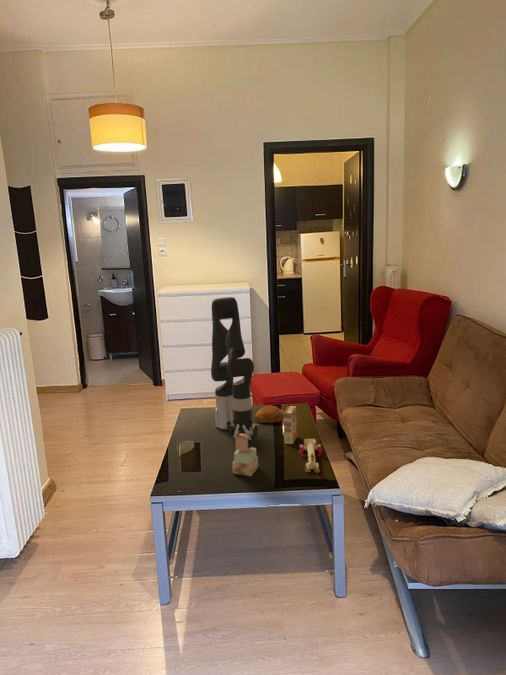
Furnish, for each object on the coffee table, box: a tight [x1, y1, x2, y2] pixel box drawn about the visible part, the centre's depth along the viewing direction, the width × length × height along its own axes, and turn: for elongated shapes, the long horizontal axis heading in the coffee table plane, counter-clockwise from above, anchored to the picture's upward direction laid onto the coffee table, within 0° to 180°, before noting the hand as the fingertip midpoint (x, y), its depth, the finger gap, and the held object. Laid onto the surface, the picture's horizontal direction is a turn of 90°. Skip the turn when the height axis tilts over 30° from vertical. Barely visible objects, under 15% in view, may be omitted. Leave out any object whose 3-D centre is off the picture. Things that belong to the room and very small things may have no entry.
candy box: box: [283, 405, 298, 445], centre depth 227 cm, size 9×4×15 cm, turn 162°
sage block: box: [233, 446, 257, 465], centre depth 201 cm, size 7×7×4 cm
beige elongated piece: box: [298, 438, 323, 474], centre depth 209 cm, size 10×9×25 cm
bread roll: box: [254, 405, 285, 424], centre depth 255 cm, size 14×16×8 cm
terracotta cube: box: [234, 432, 250, 451], centre depth 200 cm, size 5×5×5 cm
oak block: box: [231, 456, 259, 477], centre depth 202 cm, size 8×8×5 cm
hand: (243, 446), depth 200 cm, fingers closed on terracotta cube, 5 cm apart
